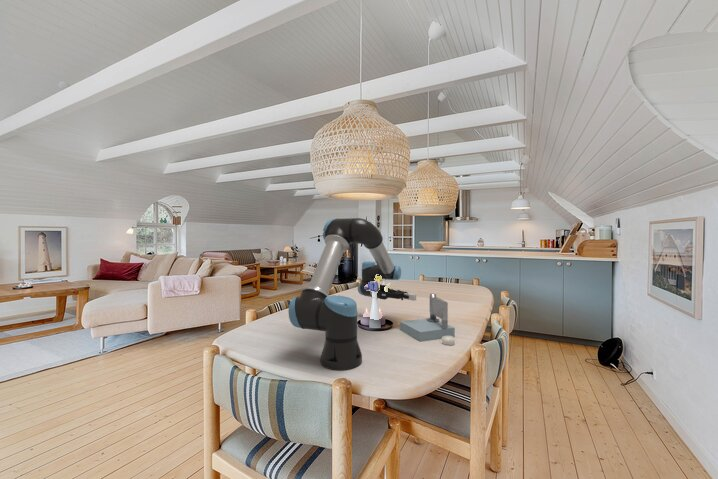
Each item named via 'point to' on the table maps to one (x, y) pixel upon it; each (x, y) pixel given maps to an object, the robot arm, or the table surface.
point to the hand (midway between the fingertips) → (415, 297)
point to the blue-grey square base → (426, 329)
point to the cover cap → (448, 340)
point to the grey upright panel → (439, 310)
